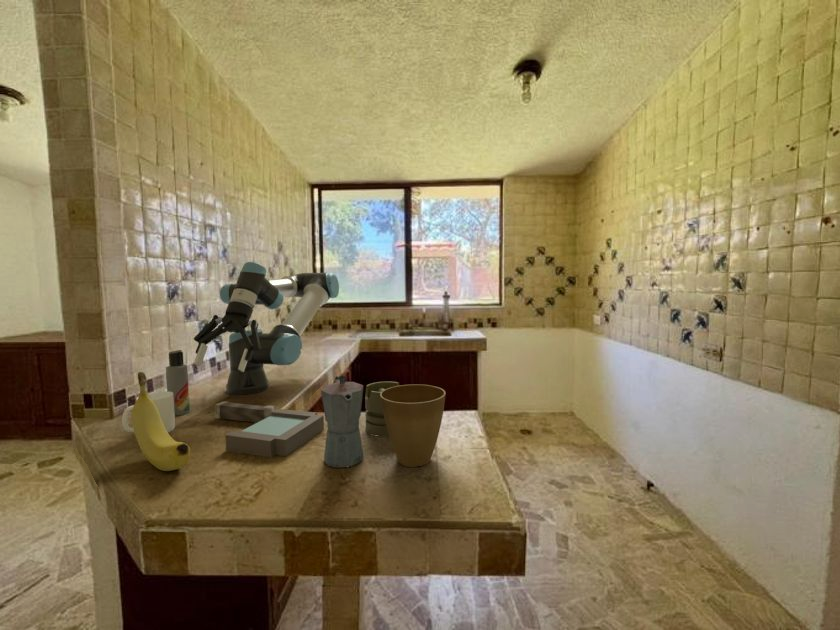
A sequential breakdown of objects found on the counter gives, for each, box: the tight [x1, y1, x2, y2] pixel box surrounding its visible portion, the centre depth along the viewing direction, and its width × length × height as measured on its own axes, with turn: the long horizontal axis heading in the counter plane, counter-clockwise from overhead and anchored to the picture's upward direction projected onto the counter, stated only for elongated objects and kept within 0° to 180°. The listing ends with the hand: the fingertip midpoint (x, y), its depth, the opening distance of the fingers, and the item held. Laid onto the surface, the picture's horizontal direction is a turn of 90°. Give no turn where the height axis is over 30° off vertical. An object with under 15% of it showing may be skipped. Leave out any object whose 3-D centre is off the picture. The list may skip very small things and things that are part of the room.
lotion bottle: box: [165, 349, 190, 417], centre depth 117 cm, size 6×6×20 cm
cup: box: [121, 391, 176, 434], centre depth 101 cm, size 8×12×10 cm
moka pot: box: [320, 375, 364, 468], centre depth 85 cm, size 10×15×20 cm, turn 27°
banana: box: [131, 371, 191, 472], centre depth 83 cm, size 23×6×20 cm, turn 55°
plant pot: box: [380, 383, 446, 468], centre depth 85 cm, size 15×15×16 cm
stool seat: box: [224, 408, 325, 458], centre depth 98 cm, size 20×16×4 cm
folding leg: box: [214, 401, 275, 424], centre depth 111 cm, size 19×3×4 cm, turn 74°
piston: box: [364, 381, 400, 437], centre depth 104 cm, size 11×12×11 cm
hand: (218, 367), depth 112 cm, fingers open, 13 cm apart
